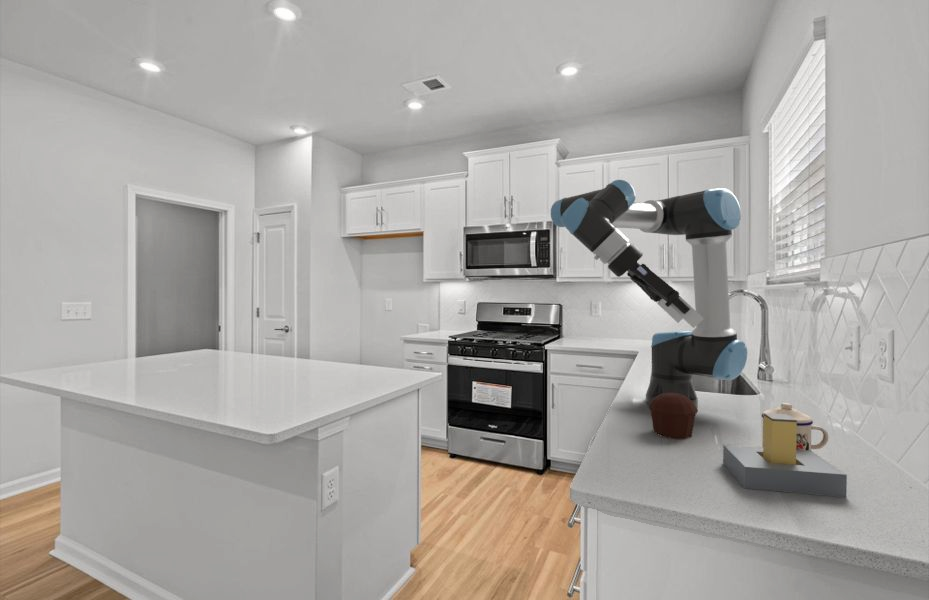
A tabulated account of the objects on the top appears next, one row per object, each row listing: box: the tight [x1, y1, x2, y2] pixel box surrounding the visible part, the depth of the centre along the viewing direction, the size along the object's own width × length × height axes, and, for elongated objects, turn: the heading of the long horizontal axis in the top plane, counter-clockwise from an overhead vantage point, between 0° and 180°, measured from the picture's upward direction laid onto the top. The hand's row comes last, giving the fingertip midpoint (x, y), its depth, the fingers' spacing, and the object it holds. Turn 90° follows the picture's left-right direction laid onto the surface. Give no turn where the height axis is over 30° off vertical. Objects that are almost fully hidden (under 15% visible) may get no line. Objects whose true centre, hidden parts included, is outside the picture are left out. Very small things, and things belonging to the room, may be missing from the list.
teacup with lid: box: [761, 402, 829, 451], centre depth 97 cm, size 12×9×12 cm
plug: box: [762, 413, 797, 465], centre depth 86 cm, size 4×4×11 cm
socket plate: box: [722, 444, 848, 498], centre depth 86 cm, size 12×16×4 cm
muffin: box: [647, 393, 699, 440], centre depth 114 cm, size 12×11×10 cm
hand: (690, 320), depth 99 cm, fingers open, 13 cm apart
